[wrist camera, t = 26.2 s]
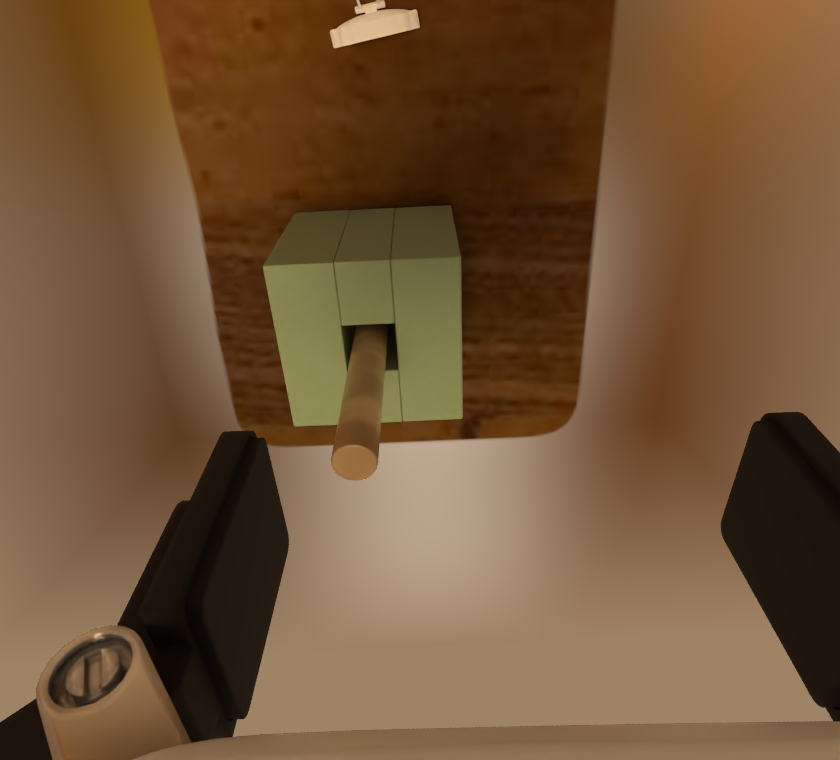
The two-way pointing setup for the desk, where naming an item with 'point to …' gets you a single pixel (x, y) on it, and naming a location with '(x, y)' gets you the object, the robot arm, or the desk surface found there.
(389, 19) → the picture light
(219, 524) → the robot arm
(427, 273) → the stand
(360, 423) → the stick
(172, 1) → the desk surface
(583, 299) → the desk surface
